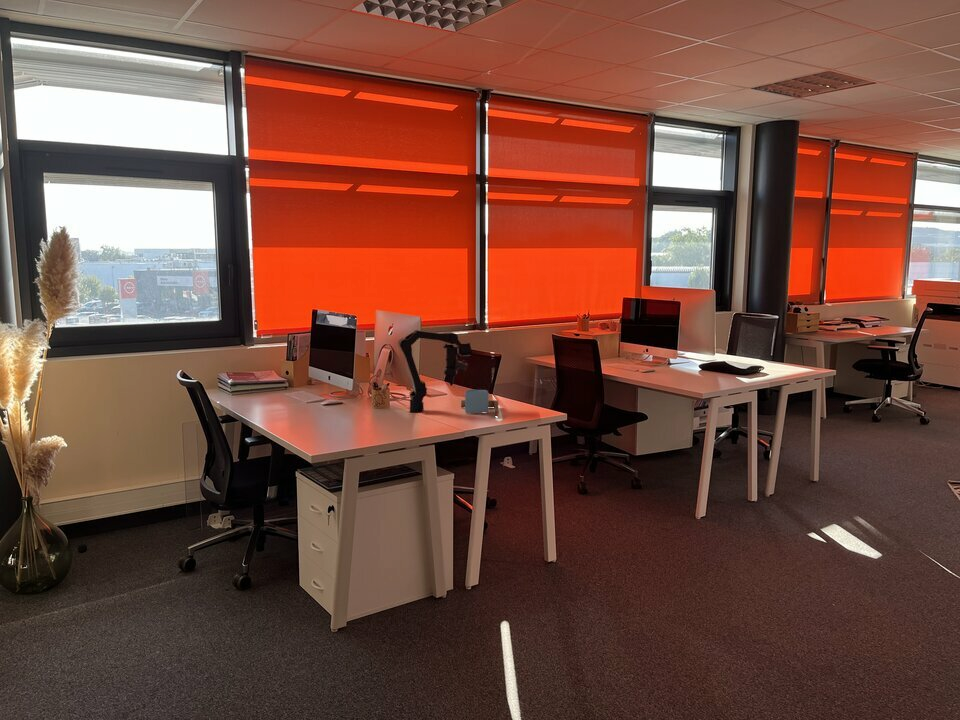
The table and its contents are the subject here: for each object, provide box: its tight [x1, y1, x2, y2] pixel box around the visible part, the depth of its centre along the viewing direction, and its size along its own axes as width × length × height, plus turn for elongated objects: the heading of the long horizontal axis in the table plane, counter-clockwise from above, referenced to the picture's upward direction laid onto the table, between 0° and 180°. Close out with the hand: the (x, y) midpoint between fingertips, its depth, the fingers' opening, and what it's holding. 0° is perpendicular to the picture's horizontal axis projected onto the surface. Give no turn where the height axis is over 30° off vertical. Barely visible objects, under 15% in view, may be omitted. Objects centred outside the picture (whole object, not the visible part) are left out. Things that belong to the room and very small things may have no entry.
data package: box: [464, 389, 489, 414], centre depth 364 cm, size 12×4×12 cm, turn 90°
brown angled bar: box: [460, 399, 499, 417], centre depth 366 cm, size 20×25×4 cm
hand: (451, 385), depth 371 cm, fingers closed
